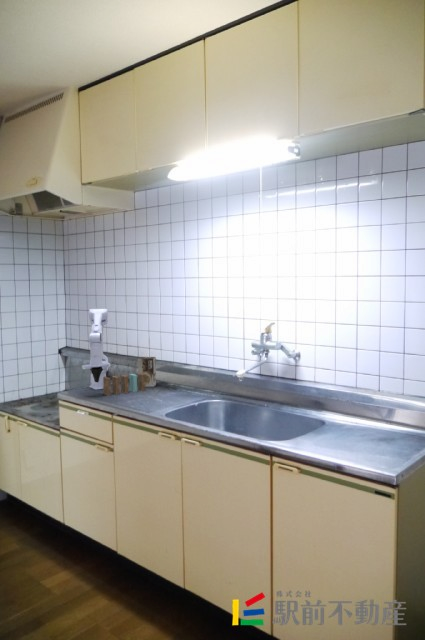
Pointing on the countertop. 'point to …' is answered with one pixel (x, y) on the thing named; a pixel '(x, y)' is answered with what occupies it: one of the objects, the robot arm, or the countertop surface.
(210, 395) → the countertop surface
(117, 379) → the domino
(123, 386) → the domino
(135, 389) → the domino
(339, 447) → the countertop surface
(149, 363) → the coffee box
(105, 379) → the domino
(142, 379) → the domino
